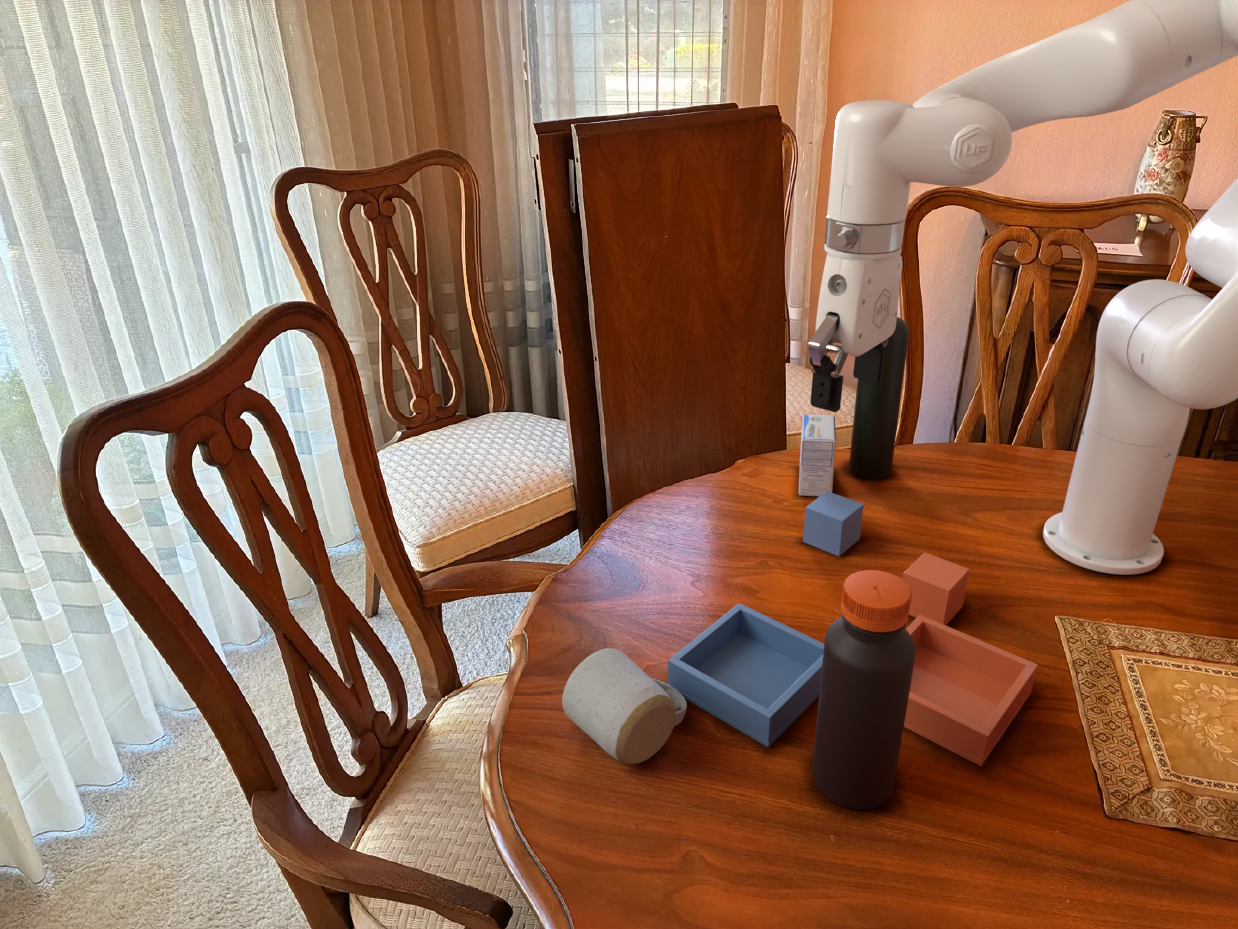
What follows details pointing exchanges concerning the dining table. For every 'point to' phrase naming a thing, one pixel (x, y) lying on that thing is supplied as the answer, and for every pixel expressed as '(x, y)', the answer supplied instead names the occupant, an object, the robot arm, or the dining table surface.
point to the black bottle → (864, 691)
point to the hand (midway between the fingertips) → (846, 393)
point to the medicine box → (817, 455)
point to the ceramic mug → (622, 706)
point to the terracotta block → (936, 588)
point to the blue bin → (750, 672)
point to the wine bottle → (879, 411)
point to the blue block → (833, 523)
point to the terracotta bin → (964, 689)
